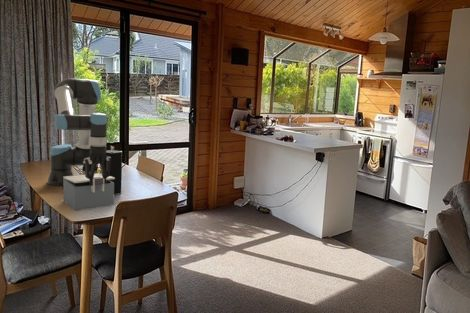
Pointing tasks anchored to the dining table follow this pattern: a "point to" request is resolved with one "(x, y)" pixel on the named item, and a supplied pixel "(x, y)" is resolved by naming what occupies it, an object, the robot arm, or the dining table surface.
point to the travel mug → (89, 168)
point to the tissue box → (115, 168)
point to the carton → (87, 195)
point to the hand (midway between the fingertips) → (97, 190)
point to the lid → (82, 179)
